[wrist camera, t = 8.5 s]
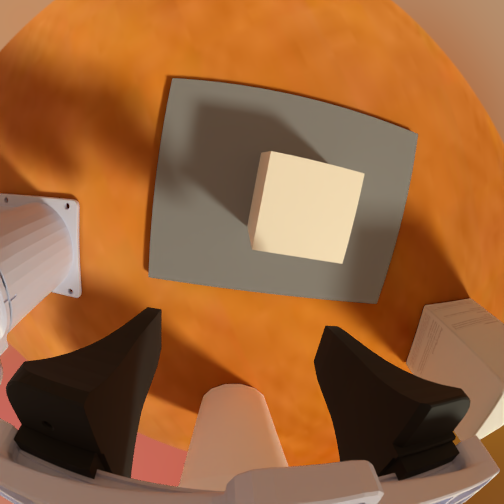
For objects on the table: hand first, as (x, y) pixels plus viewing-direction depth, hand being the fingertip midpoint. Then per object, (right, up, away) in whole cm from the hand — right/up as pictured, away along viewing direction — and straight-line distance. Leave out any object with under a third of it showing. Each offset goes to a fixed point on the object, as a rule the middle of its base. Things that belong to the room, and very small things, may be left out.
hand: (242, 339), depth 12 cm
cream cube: (+3, +7, +7) cm, 11 cm away
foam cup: (-1, -11, +14) cm, 18 cm away
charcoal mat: (+3, +7, +8) cm, 11 cm away
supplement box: (+20, -4, +13) cm, 24 cm away
